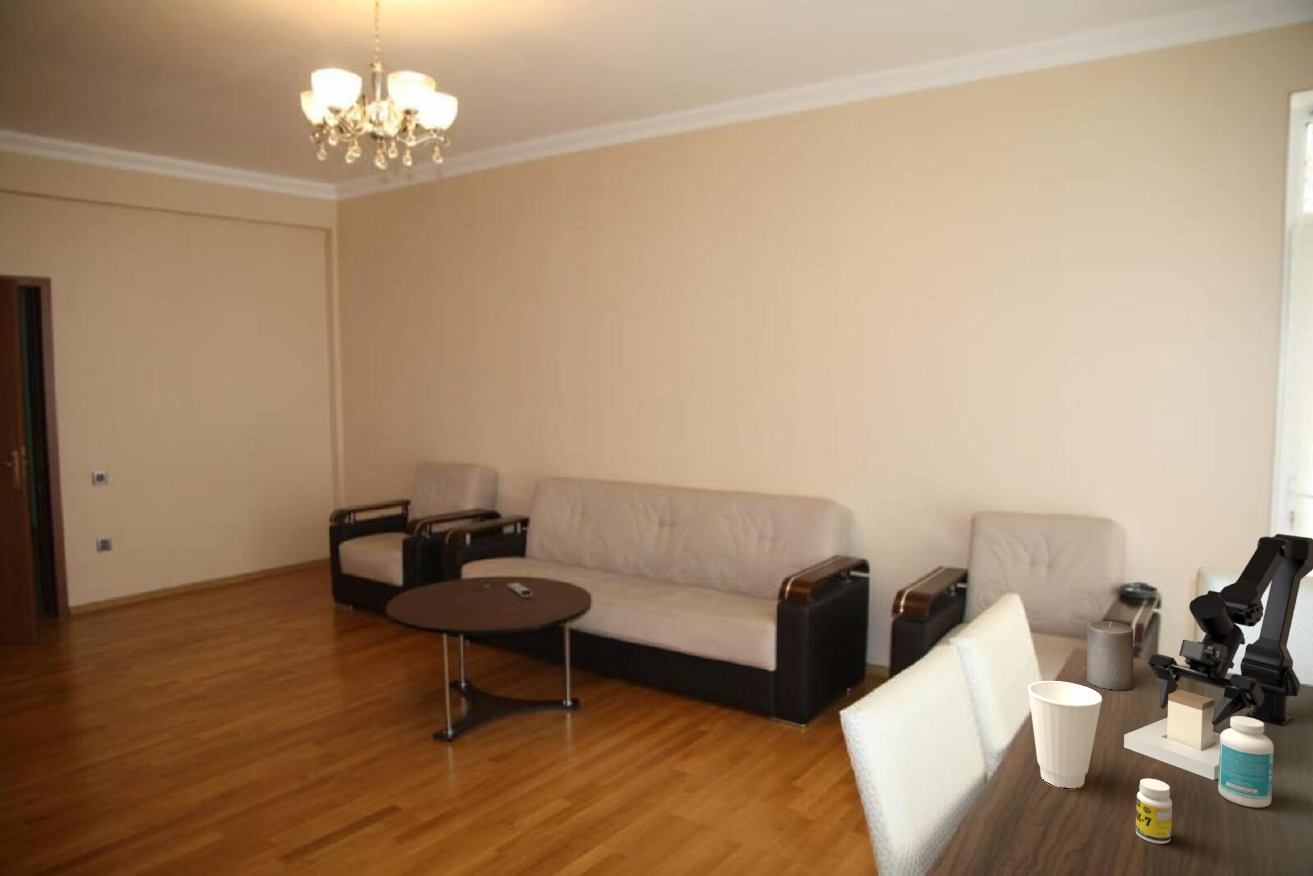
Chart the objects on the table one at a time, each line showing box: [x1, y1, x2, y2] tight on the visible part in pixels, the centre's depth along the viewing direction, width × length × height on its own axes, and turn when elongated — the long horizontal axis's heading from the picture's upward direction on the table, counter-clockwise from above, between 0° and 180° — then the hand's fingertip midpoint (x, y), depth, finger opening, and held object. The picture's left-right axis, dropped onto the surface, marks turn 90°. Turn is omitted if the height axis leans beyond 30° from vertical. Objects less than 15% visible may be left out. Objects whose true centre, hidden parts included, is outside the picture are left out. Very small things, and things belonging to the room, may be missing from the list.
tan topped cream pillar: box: [1167, 689, 1215, 751], centre depth 159 cm, size 4×6×11 cm
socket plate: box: [1123, 716, 1221, 781], centre depth 159 cm, size 16×16×2 cm
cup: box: [1027, 680, 1103, 788], centre depth 148 cm, size 12×12×16 cm
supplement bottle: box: [1135, 778, 1173, 845], centre depth 130 cm, size 5×5×8 cm
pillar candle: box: [1086, 620, 1135, 691], centre depth 196 cm, size 10×10×15 cm
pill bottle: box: [1217, 715, 1275, 808], centre depth 141 cm, size 8×7×14 cm
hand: (1186, 715), depth 158 cm, fingers open, 9 cm apart
